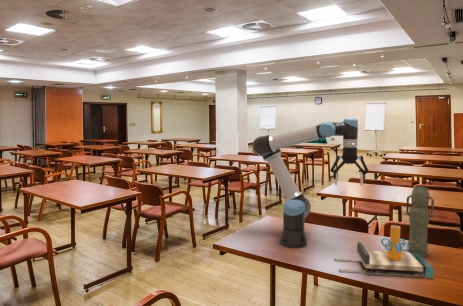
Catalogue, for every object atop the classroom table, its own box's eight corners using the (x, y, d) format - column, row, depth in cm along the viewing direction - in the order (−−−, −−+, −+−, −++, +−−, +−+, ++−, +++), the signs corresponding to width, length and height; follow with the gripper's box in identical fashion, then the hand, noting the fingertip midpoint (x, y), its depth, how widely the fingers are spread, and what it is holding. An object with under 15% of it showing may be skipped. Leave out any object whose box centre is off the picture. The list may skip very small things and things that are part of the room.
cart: (365, 272, 148) (366, 255, 147) (356, 258, 163) (357, 242, 163) (422, 276, 144) (423, 258, 144) (408, 260, 160) (409, 244, 159)
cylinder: (411, 264, 146) (412, 231, 145) (385, 263, 148) (387, 230, 147) (402, 253, 158) (403, 223, 157) (379, 252, 160) (380, 222, 159)
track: (339, 273, 149) (340, 262, 149) (334, 258, 165) (334, 248, 165) (432, 278, 144) (433, 267, 143) (417, 262, 160) (418, 252, 159)
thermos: (403, 249, 176) (406, 184, 173) (428, 252, 172) (432, 186, 168) (405, 255, 168) (408, 187, 165) (431, 259, 164) (435, 189, 160)
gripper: (327, 147, 180) (326, 185, 182) (375, 147, 176) (374, 186, 179) (325, 146, 187) (324, 183, 189) (371, 146, 184) (370, 184, 186)
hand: (348, 185), depth 184 cm, fingers open, 13 cm apart
